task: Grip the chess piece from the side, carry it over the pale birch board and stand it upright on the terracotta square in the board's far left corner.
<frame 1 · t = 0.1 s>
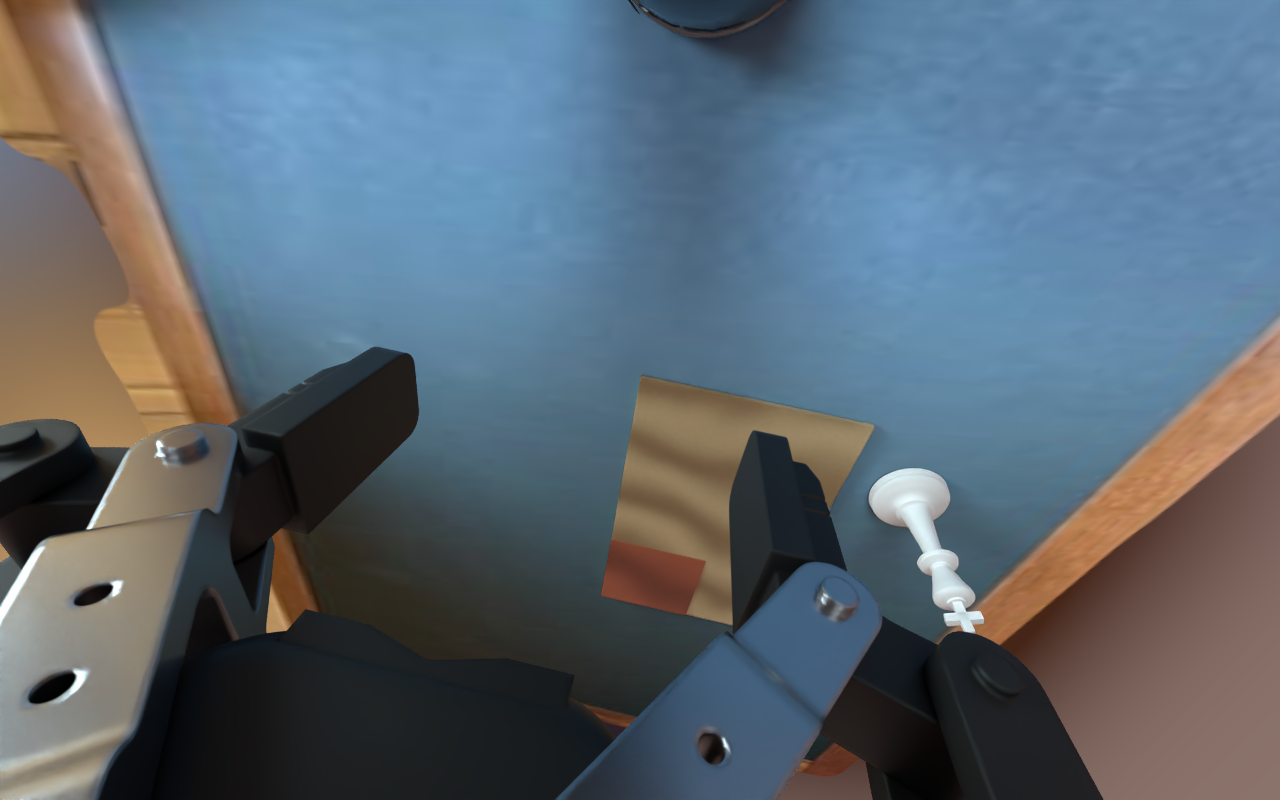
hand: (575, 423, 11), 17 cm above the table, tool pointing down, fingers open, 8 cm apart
chess piece: (906, 492, 32), on the table
corner board: (711, 523, 36), on the table
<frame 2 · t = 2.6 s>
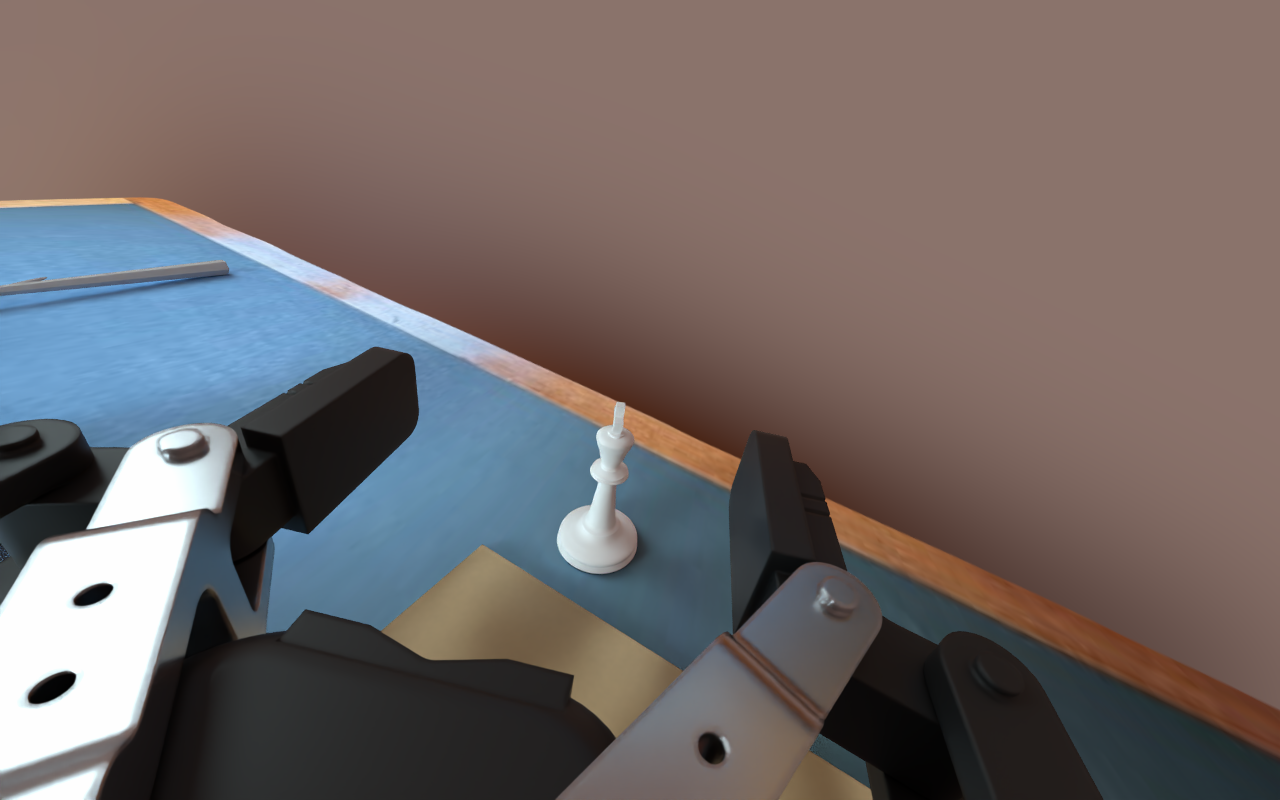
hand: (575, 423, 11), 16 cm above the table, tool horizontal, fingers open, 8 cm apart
chess piece: (597, 542, 29), on the table
wind turbine model: (37, 313, 40), on the table
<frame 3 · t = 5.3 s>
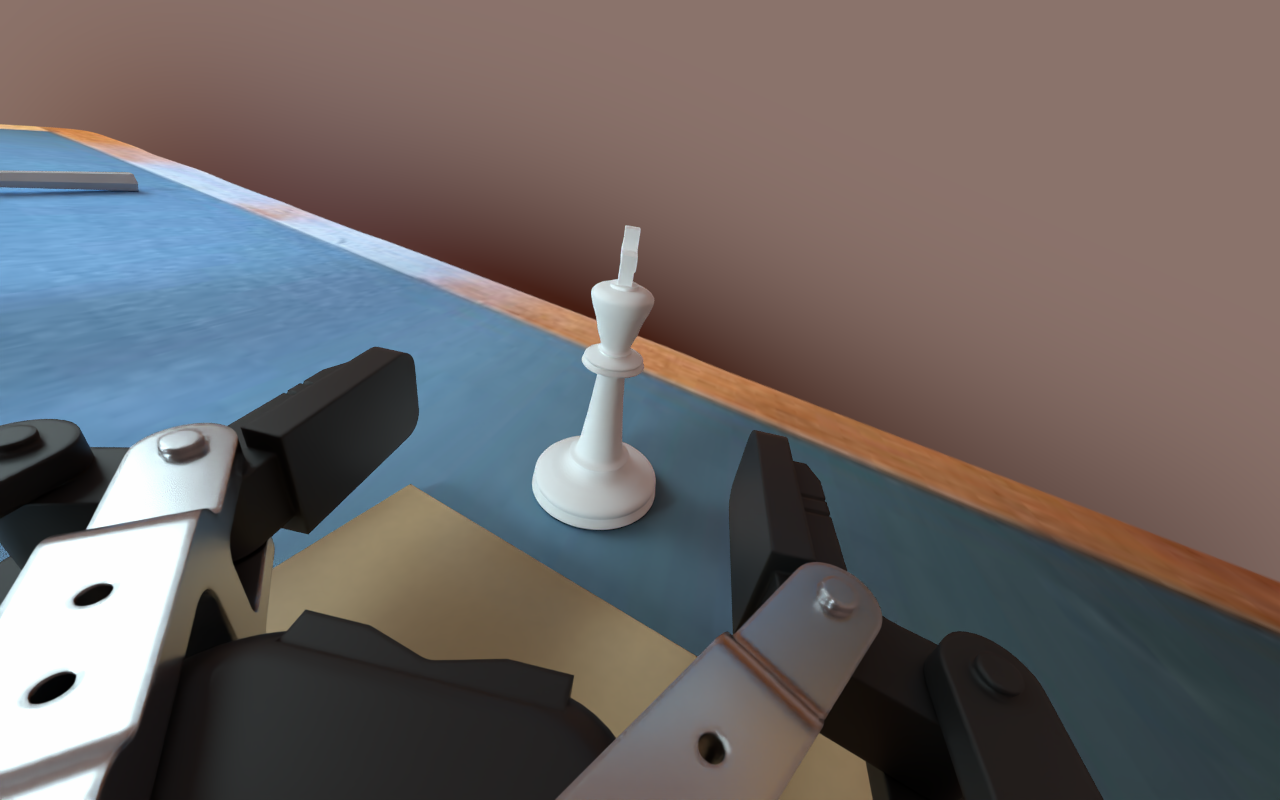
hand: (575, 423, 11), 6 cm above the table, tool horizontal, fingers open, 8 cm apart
chess piece: (594, 488, 19), on the table
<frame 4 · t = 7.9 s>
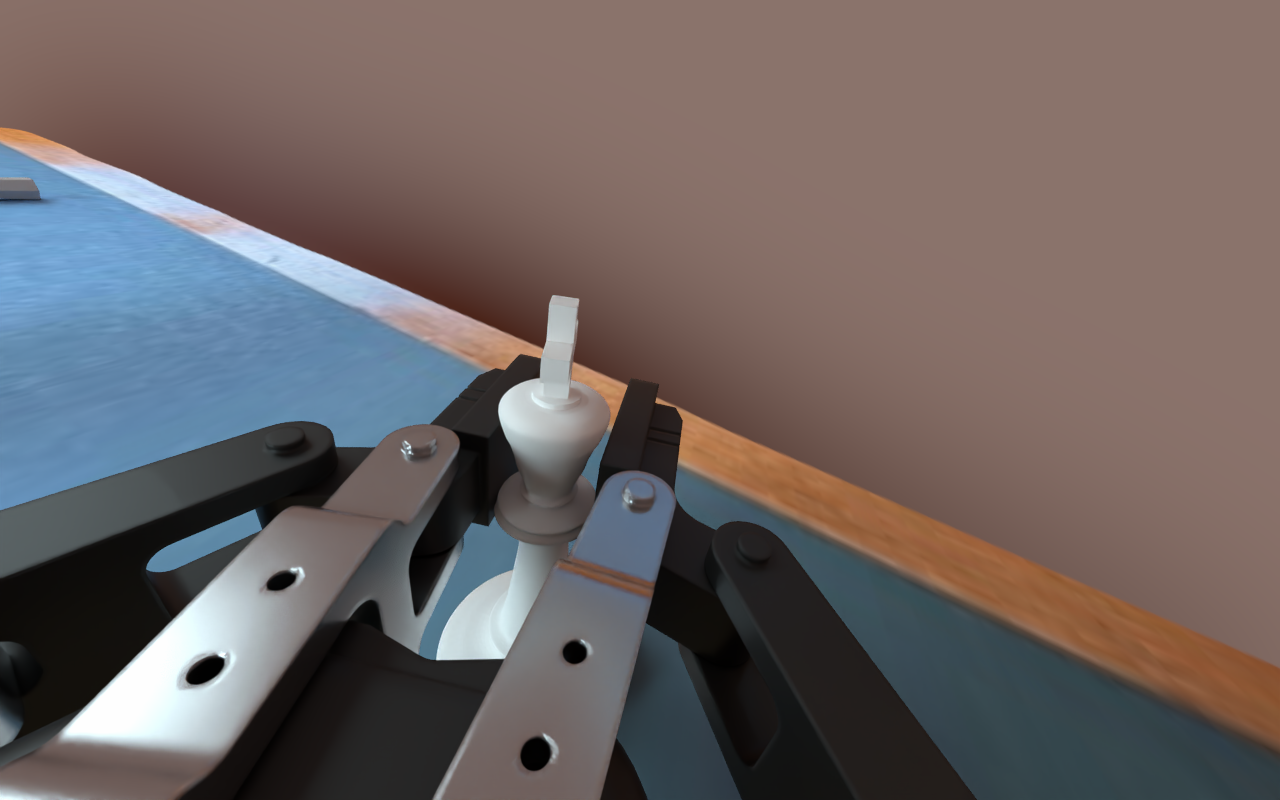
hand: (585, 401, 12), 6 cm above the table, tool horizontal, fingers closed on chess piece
chess piece: (533, 660, 13), on the table, touching gripper
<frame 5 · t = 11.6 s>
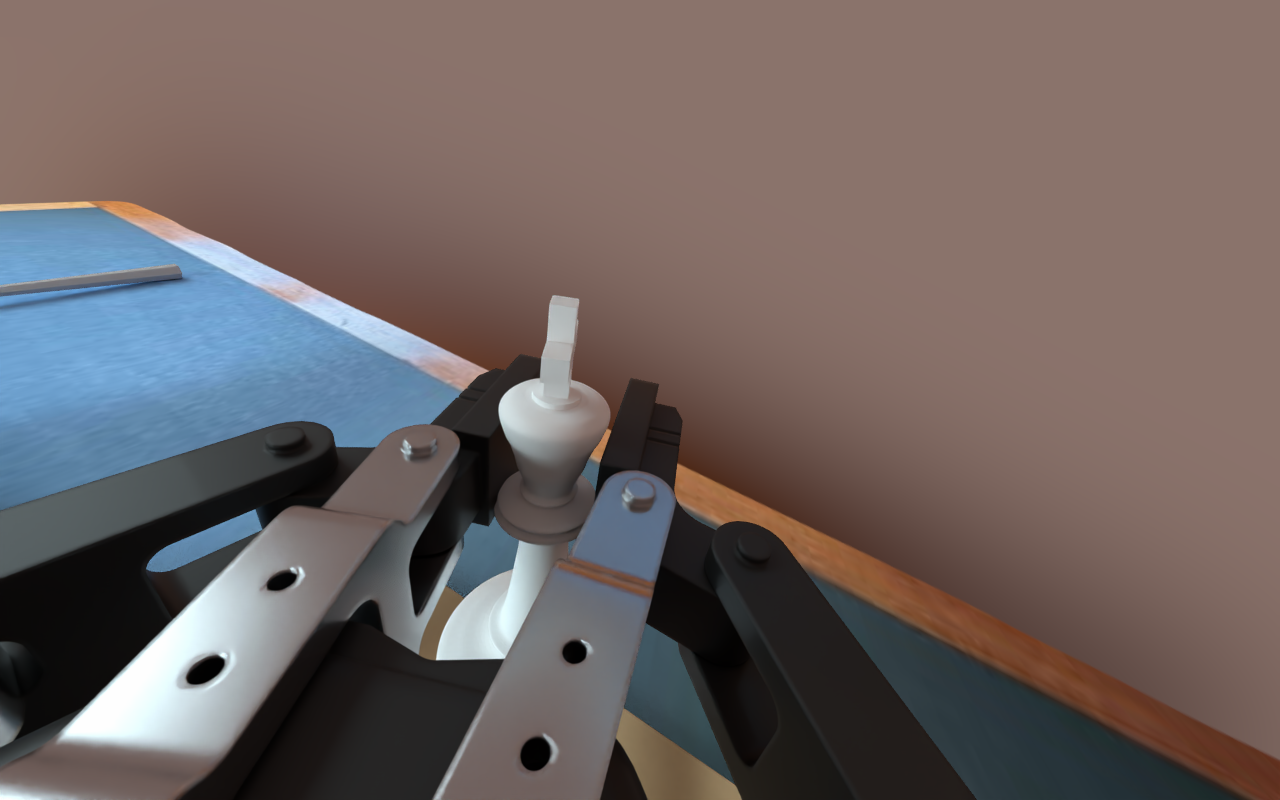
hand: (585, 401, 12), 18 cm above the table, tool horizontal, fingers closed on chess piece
chess piece: (533, 659, 13), point 11 cm above the table, touching gripper
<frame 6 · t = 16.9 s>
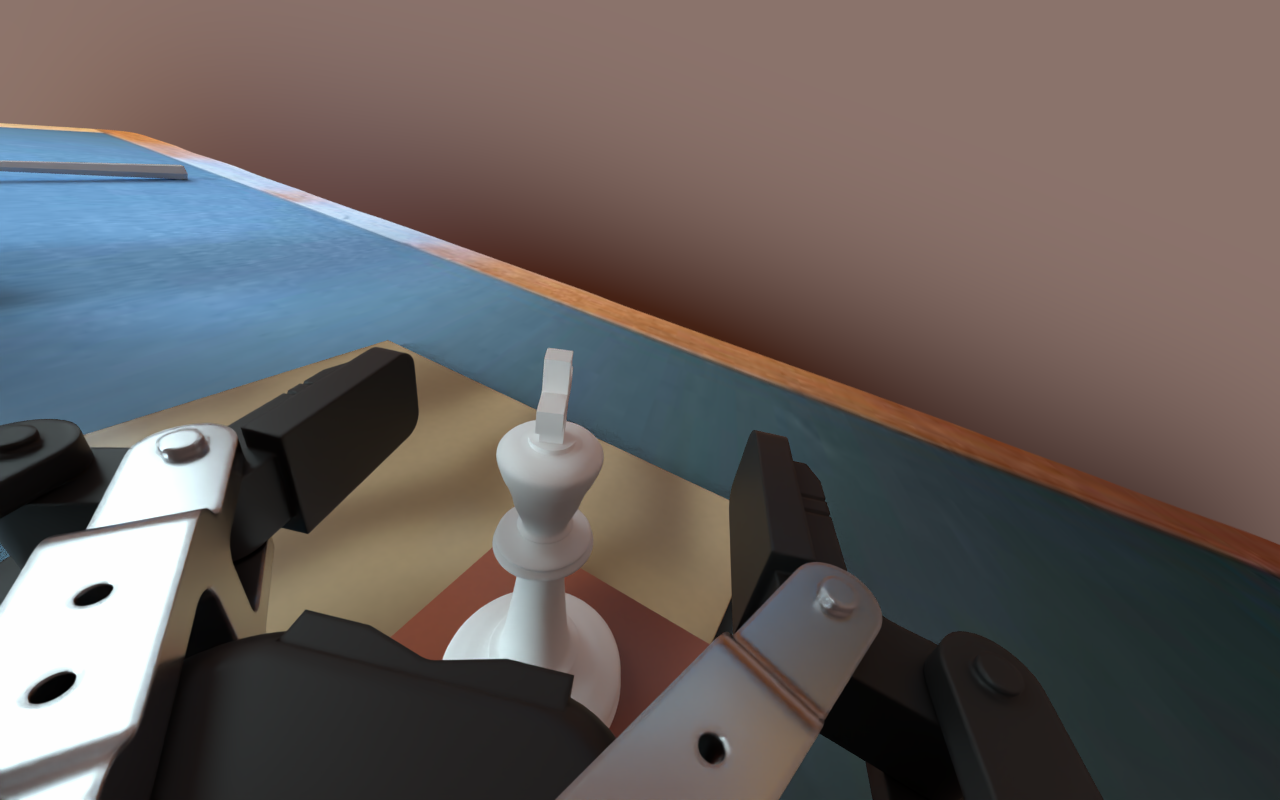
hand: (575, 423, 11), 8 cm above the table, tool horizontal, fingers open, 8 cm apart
chess piece: (531, 682, 13), resting on corner board
corner board: (426, 498, 18), on the table
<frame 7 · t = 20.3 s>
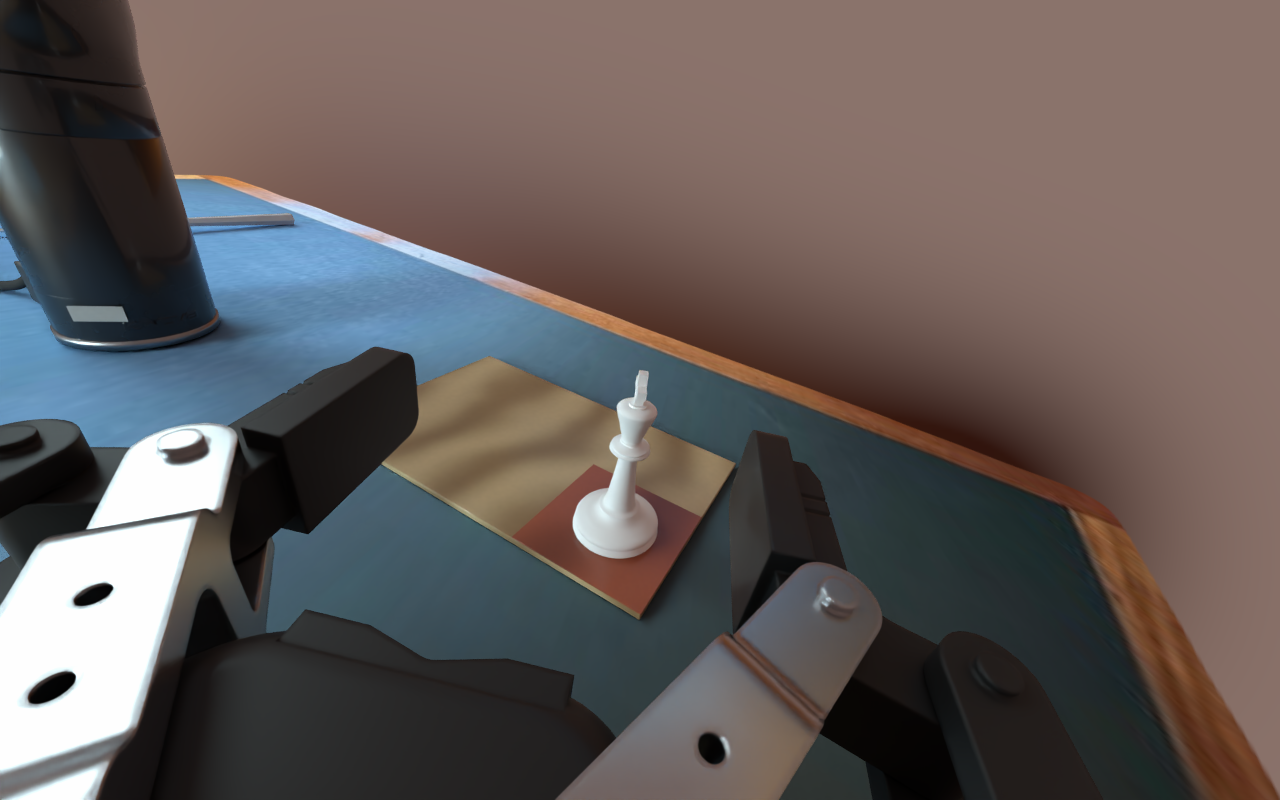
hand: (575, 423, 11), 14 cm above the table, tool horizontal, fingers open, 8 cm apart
chess piece: (614, 527, 27), resting on corner board
wind turbine model: (172, 240, 56), on the table
corner board: (541, 449, 33), on the table
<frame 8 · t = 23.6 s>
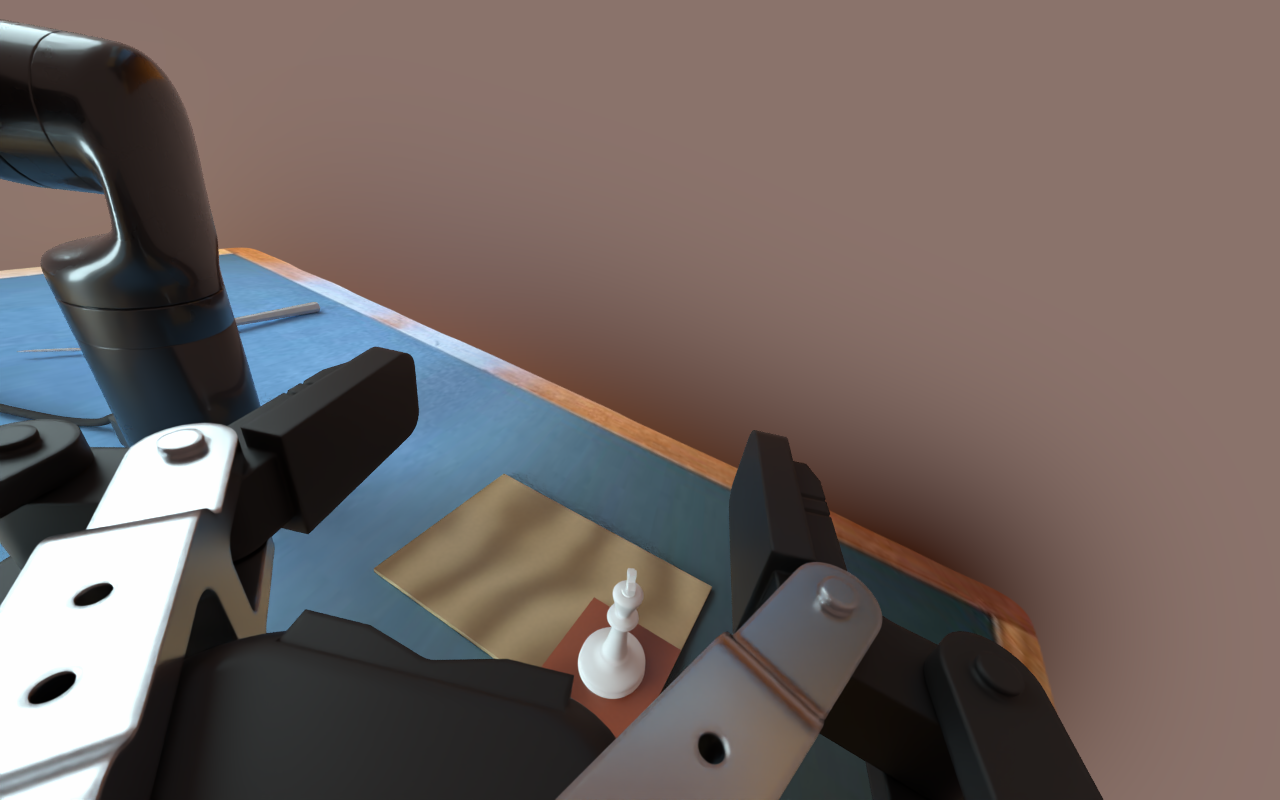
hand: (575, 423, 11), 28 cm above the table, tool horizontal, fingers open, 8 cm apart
chess piece: (611, 664, 34), resting on corner board
wind turbine model: (216, 343, 62), on the table
corner board: (550, 581, 39), on the table
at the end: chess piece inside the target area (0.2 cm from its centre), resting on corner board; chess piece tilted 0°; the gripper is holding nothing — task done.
